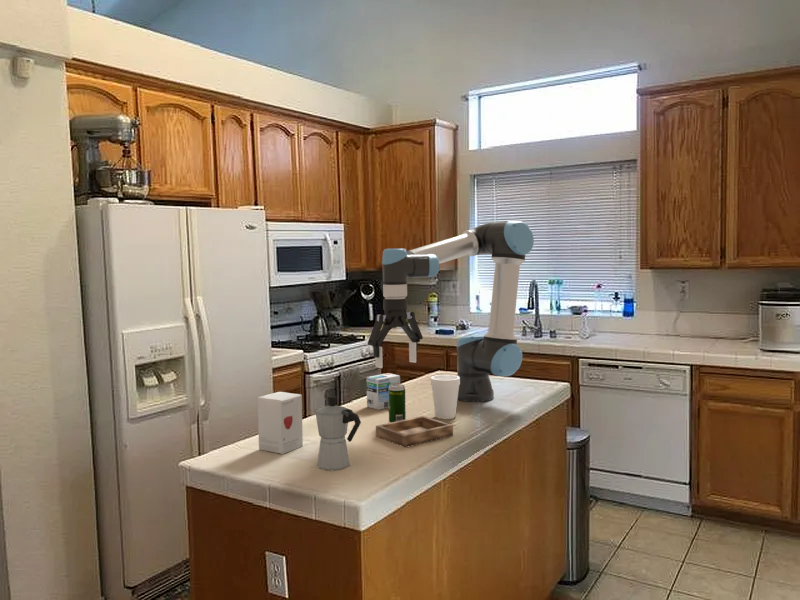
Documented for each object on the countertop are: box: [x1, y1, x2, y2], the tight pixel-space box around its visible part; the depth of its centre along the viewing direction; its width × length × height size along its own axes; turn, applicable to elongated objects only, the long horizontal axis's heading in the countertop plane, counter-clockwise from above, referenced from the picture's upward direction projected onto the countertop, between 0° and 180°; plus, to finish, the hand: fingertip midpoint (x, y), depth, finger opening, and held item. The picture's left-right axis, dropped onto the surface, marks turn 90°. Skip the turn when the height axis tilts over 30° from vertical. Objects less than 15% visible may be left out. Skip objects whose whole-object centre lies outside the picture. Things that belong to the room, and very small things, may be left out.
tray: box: [375, 415, 454, 448], centre depth 195 cm, size 18×14×3 cm
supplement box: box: [257, 391, 304, 455], centre depth 184 cm, size 9×9×15 cm
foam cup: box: [430, 374, 460, 420], centre depth 217 cm, size 10×9×13 cm
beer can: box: [388, 383, 407, 423], centre depth 209 cm, size 5×5×12 cm
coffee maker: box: [312, 395, 362, 472], centre depth 169 cm, size 15×9×18 cm, turn 58°
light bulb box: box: [366, 372, 401, 410], centre depth 232 cm, size 11×7×11 cm, turn 132°
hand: (396, 365), depth 208 cm, fingers open, 13 cm apart
